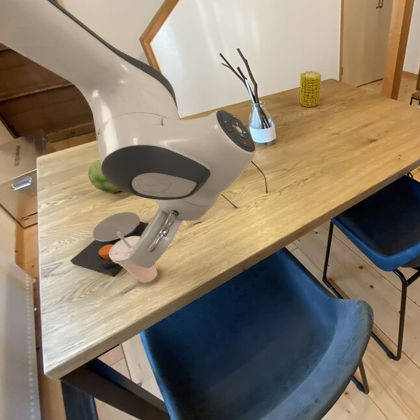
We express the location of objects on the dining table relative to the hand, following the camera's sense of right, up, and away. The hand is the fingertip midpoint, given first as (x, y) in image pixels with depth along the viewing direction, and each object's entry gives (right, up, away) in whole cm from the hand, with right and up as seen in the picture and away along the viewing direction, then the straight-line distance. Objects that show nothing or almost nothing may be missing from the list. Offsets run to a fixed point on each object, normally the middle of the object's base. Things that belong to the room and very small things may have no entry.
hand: (152, 234), depth 52 cm
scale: (-18, -4, +15) cm, 24 cm away
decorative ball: (-31, +11, +32) cm, 46 cm away
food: (+26, +55, +80) cm, 101 cm away
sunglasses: (+6, +11, +32) cm, 35 cm away
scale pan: (-19, 0, +16) cm, 24 cm away
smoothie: (-7, -10, +9) cm, 15 cm away
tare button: (-16, -5, +10) cm, 20 cm away
